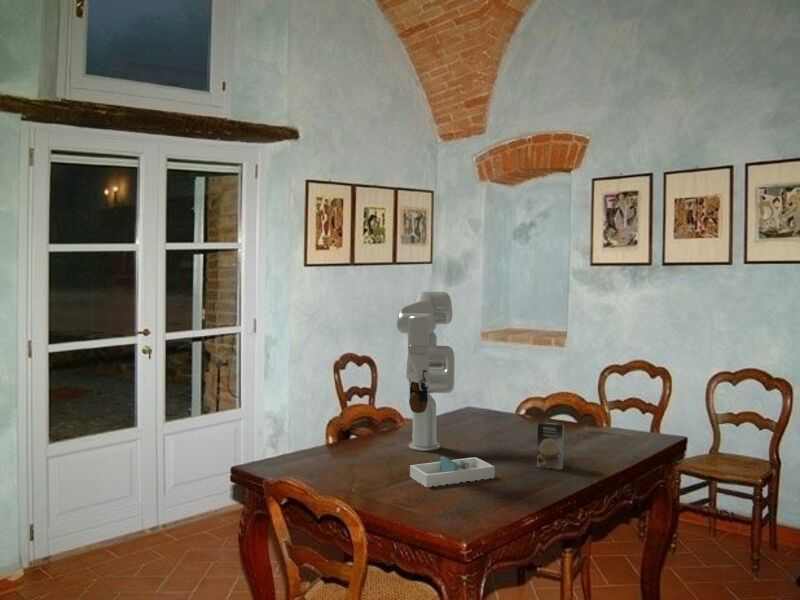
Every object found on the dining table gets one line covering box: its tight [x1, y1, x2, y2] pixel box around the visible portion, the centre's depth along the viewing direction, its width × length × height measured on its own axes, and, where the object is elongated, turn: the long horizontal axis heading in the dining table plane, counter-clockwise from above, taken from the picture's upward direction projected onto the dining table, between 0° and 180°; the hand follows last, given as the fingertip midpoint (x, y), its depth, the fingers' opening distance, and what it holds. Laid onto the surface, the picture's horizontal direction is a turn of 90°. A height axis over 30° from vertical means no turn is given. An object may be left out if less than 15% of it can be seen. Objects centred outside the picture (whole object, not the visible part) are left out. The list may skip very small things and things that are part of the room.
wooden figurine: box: [408, 382, 428, 413], centre depth 251 cm, size 7×6×15 cm
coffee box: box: [536, 419, 565, 470], centre depth 255 cm, size 9×6×16 cm
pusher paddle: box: [439, 455, 469, 472], centre depth 242 cm, size 10×7×5 cm
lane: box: [409, 456, 496, 488], centre depth 242 cm, size 13×26×4 cm, turn 114°
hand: (418, 398), depth 252 cm, fingers closed on wooden figurine, 6 cm apart
